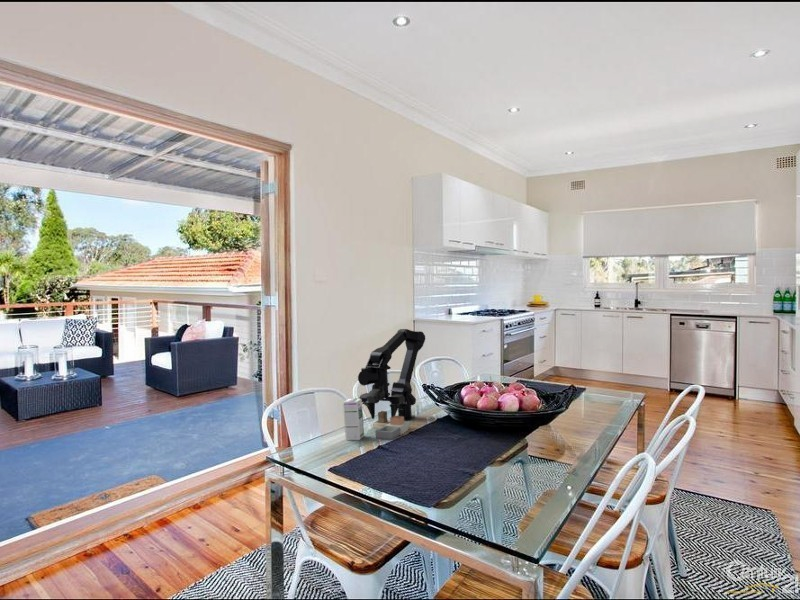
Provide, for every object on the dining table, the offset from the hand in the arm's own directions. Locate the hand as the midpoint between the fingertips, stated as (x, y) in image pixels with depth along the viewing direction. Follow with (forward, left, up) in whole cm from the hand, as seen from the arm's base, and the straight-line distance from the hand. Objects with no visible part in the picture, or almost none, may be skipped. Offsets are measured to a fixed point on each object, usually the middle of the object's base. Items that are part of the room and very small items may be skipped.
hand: (382, 419), depth 196 cm
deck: (+6, +9, -3) cm, 11 cm away
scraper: (0, 0, -3) cm, 3 cm away
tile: (+5, +9, 0) cm, 11 cm away
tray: (+13, +9, -3) cm, 16 cm away
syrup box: (+18, -2, -3) cm, 18 cm away
